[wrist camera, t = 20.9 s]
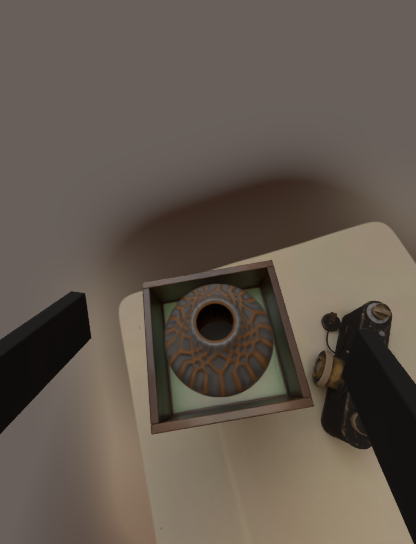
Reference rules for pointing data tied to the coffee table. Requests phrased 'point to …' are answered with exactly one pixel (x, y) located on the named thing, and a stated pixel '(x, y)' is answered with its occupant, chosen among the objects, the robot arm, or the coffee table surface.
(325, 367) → the camera
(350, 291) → the coffee table surface
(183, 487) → the coffee table surface
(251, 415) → the square pedestal box
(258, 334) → the vase
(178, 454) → the coffee table surface
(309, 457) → the coffee table surface
